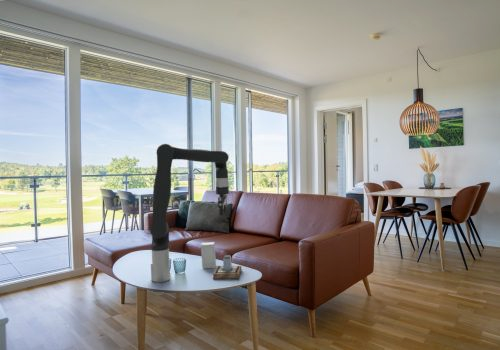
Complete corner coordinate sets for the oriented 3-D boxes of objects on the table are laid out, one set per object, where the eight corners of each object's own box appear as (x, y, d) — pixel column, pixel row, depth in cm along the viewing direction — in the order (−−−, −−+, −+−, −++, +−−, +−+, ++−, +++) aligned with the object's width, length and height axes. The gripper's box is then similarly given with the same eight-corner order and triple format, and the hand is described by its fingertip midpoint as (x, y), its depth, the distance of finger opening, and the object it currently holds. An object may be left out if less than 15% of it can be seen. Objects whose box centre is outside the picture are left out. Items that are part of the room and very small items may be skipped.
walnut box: (213, 279, 181) (213, 273, 181) (218, 270, 195) (217, 265, 195) (238, 279, 180) (238, 273, 179) (241, 270, 194) (241, 265, 193)
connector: (223, 274, 186) (223, 257, 185) (224, 272, 189) (224, 255, 189) (230, 274, 185) (230, 257, 185) (231, 272, 189) (231, 255, 189)
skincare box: (216, 265, 206) (215, 241, 205) (215, 268, 200) (214, 244, 199) (202, 265, 205) (201, 242, 205) (201, 268, 199) (200, 244, 199)
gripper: (218, 185, 197) (219, 212, 198) (213, 187, 183) (214, 215, 184) (230, 184, 196) (231, 211, 197) (226, 186, 182) (227, 215, 183)
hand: (223, 213), depth 190 cm, fingers open, 8 cm apart
